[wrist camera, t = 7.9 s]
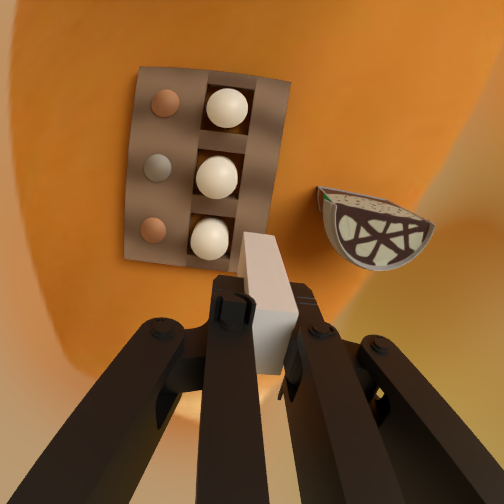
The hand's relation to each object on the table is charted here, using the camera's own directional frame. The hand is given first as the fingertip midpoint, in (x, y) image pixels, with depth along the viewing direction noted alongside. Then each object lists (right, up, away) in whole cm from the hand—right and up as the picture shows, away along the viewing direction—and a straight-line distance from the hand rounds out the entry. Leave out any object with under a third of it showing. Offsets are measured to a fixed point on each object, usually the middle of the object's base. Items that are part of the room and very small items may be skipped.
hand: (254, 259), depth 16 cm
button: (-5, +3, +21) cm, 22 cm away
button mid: (-4, +9, +17) cm, 20 cm away
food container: (+11, +5, +22) cm, 25 cm away
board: (-6, +9, +19) cm, 22 cm away
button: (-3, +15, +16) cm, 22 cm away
